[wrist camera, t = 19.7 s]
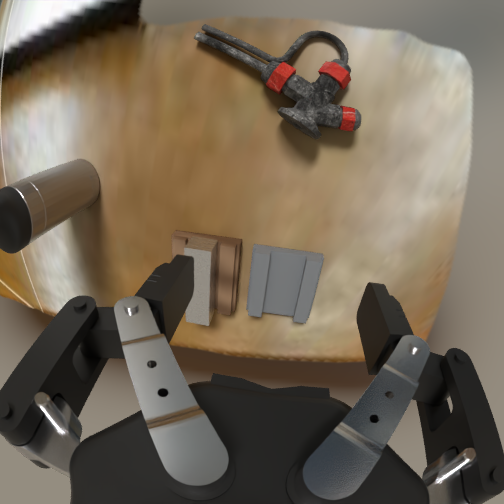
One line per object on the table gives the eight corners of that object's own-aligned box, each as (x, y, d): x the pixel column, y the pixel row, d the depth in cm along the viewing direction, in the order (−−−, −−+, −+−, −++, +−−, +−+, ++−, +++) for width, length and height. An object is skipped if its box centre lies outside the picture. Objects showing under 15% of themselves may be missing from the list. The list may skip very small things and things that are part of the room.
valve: (385, 84, 33) (332, 158, 38) (241, -2, 31) (184, 65, 35) (401, 73, 27) (342, 157, 32) (236, -23, 24) (169, 52, 29)
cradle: (236, 304, 51) (233, 315, 48) (178, 294, 52) (172, 304, 49) (242, 239, 45) (238, 248, 42) (176, 230, 46) (168, 238, 43)
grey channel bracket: (308, 312, 50) (308, 323, 47) (247, 304, 51) (245, 314, 48) (322, 253, 45) (324, 262, 42) (254, 243, 45) (251, 252, 43)
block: (214, 311, 50) (208, 326, 47) (192, 307, 50) (186, 321, 47) (217, 240, 44) (211, 251, 40) (192, 236, 44) (184, 247, 40)
